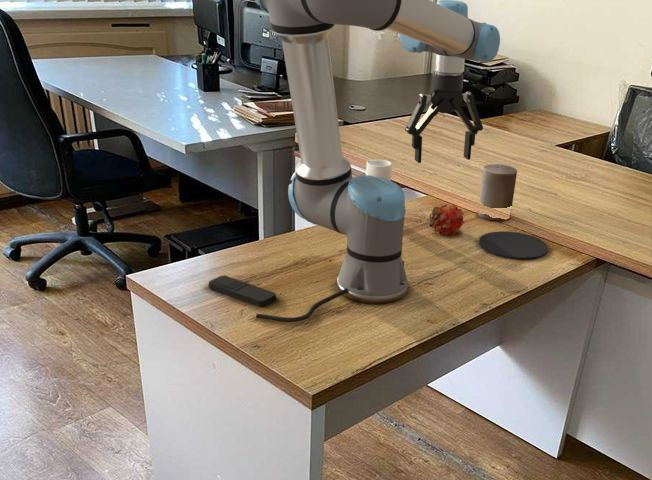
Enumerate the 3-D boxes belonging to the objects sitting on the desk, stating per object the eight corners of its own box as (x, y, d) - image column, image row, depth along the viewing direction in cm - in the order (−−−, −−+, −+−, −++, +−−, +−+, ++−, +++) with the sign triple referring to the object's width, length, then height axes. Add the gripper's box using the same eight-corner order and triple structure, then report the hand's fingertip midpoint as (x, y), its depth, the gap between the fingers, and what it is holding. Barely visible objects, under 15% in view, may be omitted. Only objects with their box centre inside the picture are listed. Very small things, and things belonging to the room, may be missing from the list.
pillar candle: (517, 218, 201) (525, 166, 194) (494, 223, 195) (501, 170, 188) (493, 207, 207) (500, 157, 200) (470, 213, 201) (476, 161, 194)
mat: (501, 263, 171) (501, 260, 171) (466, 236, 185) (466, 234, 184) (561, 256, 179) (561, 253, 178) (523, 231, 192) (524, 229, 192)
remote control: (278, 301, 144) (222, 279, 149) (278, 293, 143) (222, 272, 148) (262, 310, 140) (206, 287, 145) (262, 302, 139) (205, 279, 144)
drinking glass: (360, 213, 193) (362, 159, 185) (382, 212, 195) (385, 158, 188) (369, 222, 187) (372, 167, 180) (392, 220, 190) (396, 165, 183)
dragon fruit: (426, 242, 183) (455, 239, 191) (449, 232, 177) (478, 229, 186) (417, 211, 183) (446, 209, 191) (440, 199, 177) (469, 198, 186)
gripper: (488, 68, 175) (480, 152, 186) (393, 70, 166) (391, 158, 178) (501, 74, 169) (492, 161, 180) (404, 77, 161) (401, 167, 172)
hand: (442, 159), depth 179 cm, fingers open, 13 cm apart
